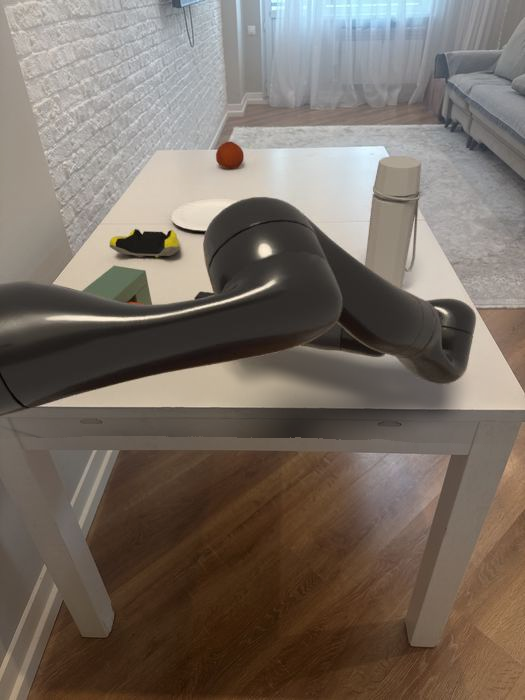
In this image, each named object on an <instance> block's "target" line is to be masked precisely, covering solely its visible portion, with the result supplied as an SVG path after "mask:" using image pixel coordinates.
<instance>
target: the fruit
mask: <svg viewBox="0 0 525 700" xmlns="http://www.w3.org/2000/svg"><path fill="white" fill-rule="evenodd" d="M216 150H217V151H216V153H215V160H216V162H217V163H218V165H219V166H221V167H222V168H224V169H228V170H229V169H230V170H231V169H236V168H238V167H240V166H241V165H242V164H243V162H244V158H245V156H244V151H243V149H242V147H241V146H240V145H239V144H237V143H235V142H234V141H225V142H223V143H222V144H220V145H219V147H218V148H217V149H216Z"/></svg>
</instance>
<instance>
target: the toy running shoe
mask: <svg viewBox="0 0 525 700" xmlns="http://www.w3.org/2000/svg"><path fill="white" fill-rule="evenodd" d="M109 248H111V249H112V250H113V251H115V252H117V253H119V254H122V255H126V256H135V257H136V258H139V259H141V258H145V257H154V258H159V257H171V256H173V255H175V254H176V253H177V252H179V251H180V243H179V238H178V236H177V233H176V231H175V230H174V229H170V230H168V231H167V233H164V232H163V231H149V230H147V231H146V230H145V231H144V230H143V232H141V231H140V229H139V228H134V229H132V230H131V232H130V233H129V234H128V236H122V235H117V236H113V237H112V238H110V240H109Z"/></svg>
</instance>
